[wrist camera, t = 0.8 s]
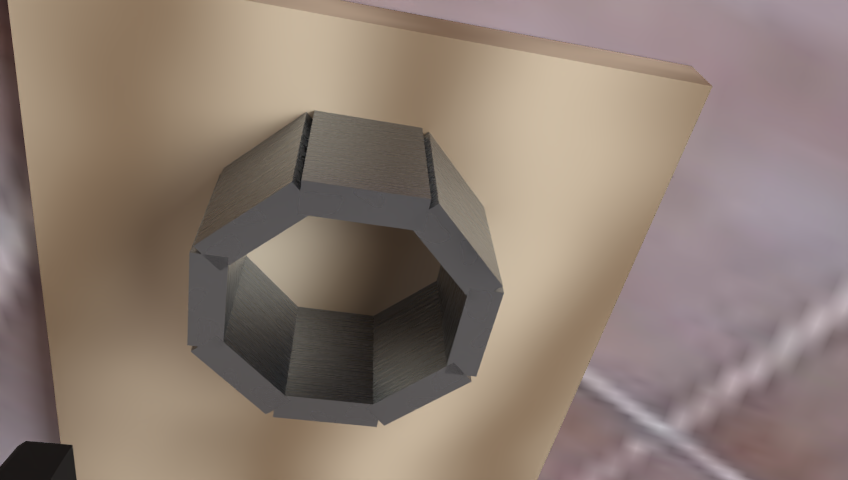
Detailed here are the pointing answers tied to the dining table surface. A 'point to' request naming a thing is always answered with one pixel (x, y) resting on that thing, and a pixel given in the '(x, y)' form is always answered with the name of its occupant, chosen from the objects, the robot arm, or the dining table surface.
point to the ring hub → (331, 330)
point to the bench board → (325, 219)
